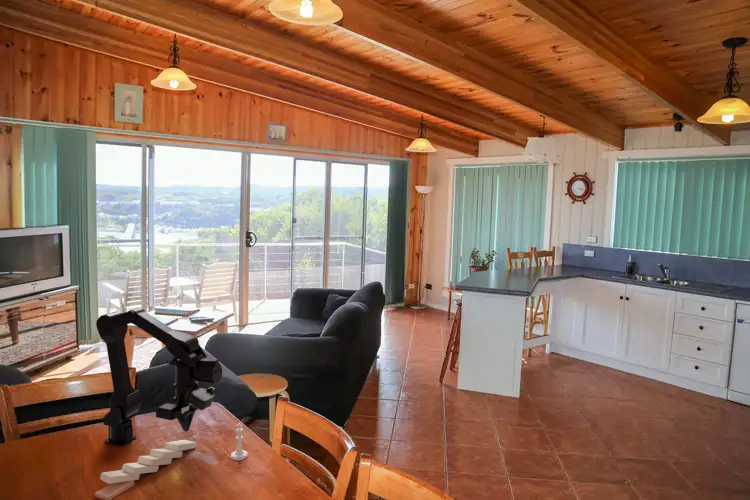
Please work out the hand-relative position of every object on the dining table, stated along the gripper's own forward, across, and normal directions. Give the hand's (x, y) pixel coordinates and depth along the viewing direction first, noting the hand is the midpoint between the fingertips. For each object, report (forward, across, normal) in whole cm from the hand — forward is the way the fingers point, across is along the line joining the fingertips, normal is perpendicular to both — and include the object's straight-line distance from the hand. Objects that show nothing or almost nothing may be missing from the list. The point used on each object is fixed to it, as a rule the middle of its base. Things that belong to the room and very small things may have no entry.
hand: (186, 431), depth 155 cm
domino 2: (+5, -21, +1) cm, 22 cm away
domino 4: (+5, -8, 0) cm, 10 cm away
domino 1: (+4, -18, +1) cm, 19 cm away
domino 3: (+5, -13, 0) cm, 14 cm away
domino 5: (+5, -4, 0) cm, 7 cm away
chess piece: (+6, +2, -17) cm, 18 cm away
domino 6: (+5, +2, 0) cm, 5 cm away
